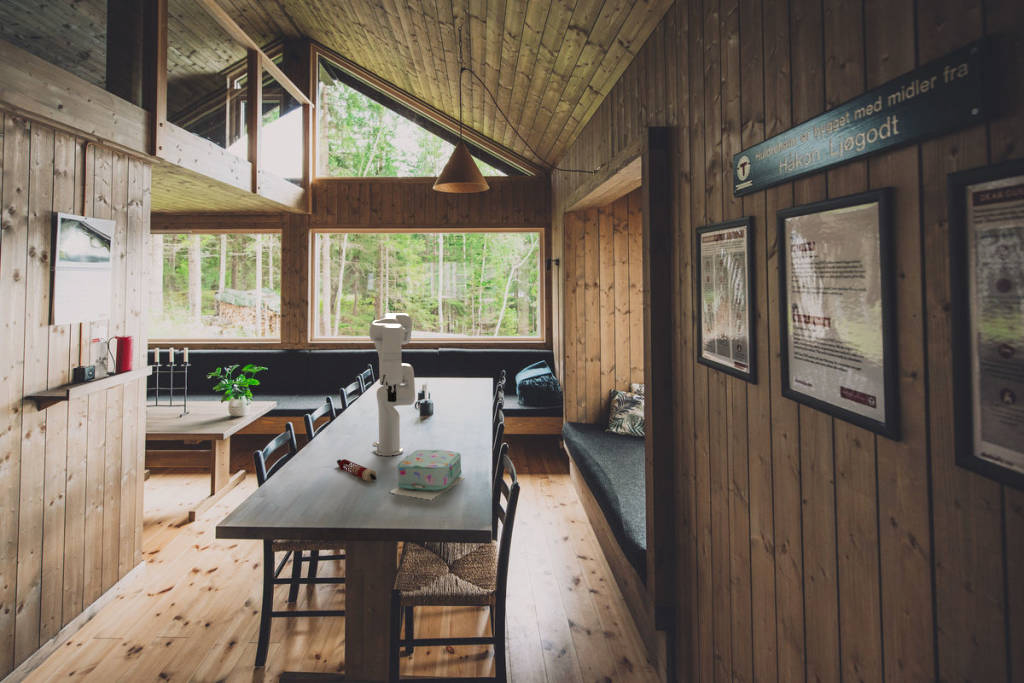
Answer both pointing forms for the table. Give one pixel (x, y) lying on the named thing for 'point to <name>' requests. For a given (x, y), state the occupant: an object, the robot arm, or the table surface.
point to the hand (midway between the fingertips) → (392, 401)
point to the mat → (424, 491)
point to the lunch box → (429, 469)
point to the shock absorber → (357, 470)
